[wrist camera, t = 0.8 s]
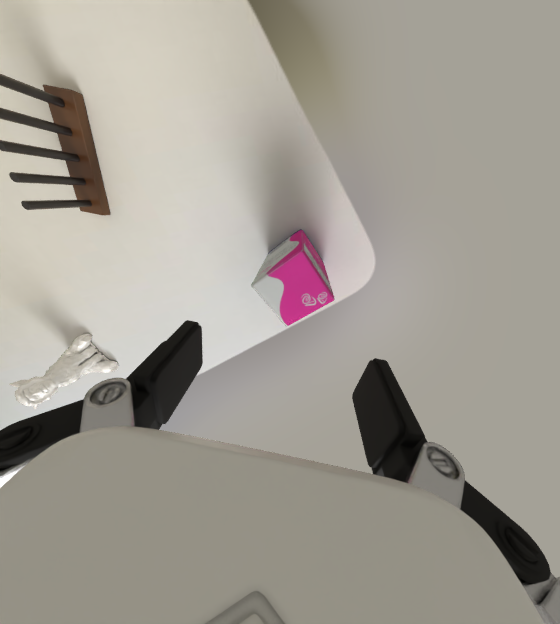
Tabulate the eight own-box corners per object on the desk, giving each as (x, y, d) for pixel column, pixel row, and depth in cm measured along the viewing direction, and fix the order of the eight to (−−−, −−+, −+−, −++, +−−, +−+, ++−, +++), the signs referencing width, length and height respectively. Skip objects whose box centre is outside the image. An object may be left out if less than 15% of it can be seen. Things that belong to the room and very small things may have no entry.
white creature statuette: (122, 365, 44) (65, 418, 33) (95, 373, 46) (34, 424, 36) (88, 331, 40) (12, 378, 29) (61, 341, 42) (-19, 388, 32)
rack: (54, 89, 22) (-64, 39, 15) (82, 94, 22) (-22, 47, 15) (88, 210, 28) (15, 215, 21) (110, 214, 28) (45, 221, 21)
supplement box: (291, 286, 31) (284, 329, 21) (267, 253, 28) (246, 283, 19) (325, 264, 28) (336, 301, 18) (302, 227, 26) (299, 246, 16)
